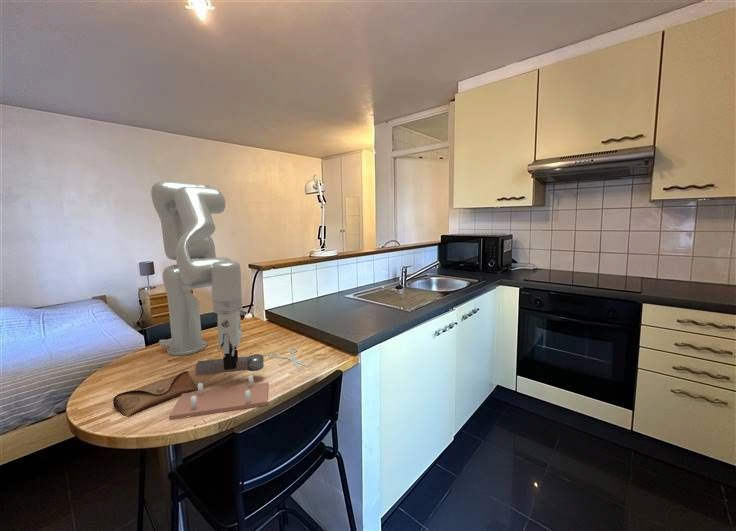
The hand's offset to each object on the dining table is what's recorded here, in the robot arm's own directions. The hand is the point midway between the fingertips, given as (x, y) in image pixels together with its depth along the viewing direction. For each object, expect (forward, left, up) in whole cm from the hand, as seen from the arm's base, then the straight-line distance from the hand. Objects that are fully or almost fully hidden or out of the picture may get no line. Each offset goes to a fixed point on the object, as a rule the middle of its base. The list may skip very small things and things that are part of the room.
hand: (231, 365), depth 90 cm
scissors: (+17, +10, -6) cm, 21 cm away
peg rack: (-1, -10, -5) cm, 11 cm away
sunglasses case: (-17, -3, -6) cm, 19 cm away
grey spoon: (0, 0, -1) cm, 1 cm away
